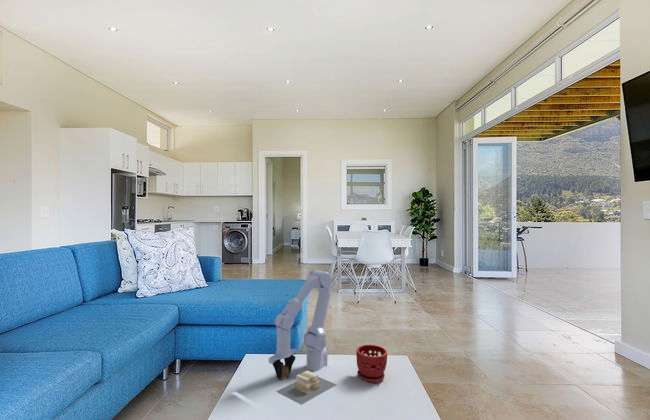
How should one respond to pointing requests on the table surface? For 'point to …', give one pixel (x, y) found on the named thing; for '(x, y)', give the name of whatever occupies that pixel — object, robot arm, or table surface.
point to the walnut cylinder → (285, 372)
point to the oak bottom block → (307, 389)
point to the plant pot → (371, 363)
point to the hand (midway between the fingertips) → (283, 375)
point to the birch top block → (307, 378)
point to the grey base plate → (302, 397)
